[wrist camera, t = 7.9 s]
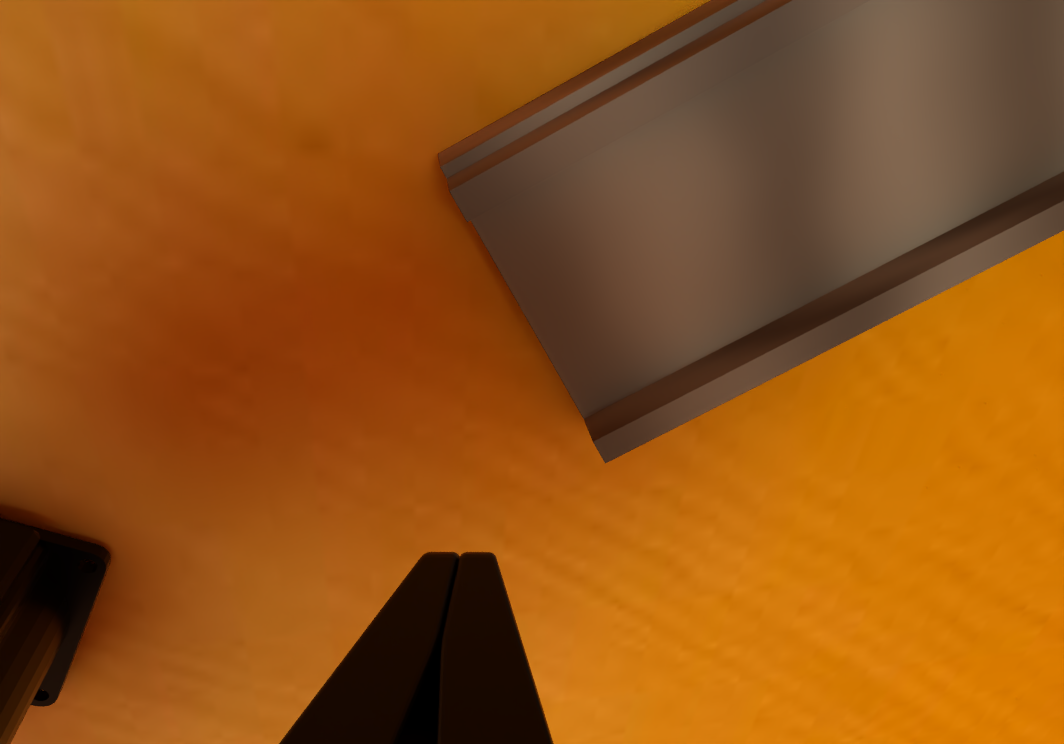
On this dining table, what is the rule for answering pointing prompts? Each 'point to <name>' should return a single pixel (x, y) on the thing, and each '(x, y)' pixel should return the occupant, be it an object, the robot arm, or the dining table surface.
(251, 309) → the dining table surface
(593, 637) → the dining table surface
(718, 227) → the rail
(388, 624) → the robot arm
